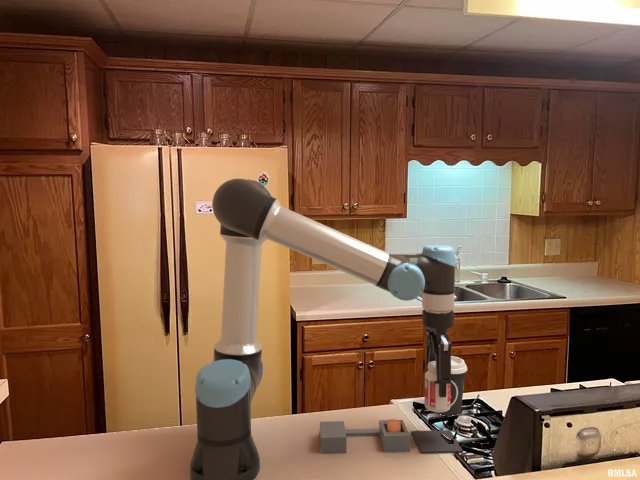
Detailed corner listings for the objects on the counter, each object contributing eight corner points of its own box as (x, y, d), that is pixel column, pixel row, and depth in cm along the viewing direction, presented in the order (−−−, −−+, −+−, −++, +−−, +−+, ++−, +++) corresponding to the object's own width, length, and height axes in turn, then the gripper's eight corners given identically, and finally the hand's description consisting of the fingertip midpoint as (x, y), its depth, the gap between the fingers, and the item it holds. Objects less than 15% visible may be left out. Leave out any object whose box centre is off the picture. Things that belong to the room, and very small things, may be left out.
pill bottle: (455, 409, 116) (456, 364, 115) (438, 415, 113) (438, 370, 112) (436, 400, 121) (437, 357, 120) (419, 406, 118) (419, 362, 117)
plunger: (388, 445, 116) (388, 425, 116) (386, 438, 119) (386, 419, 119) (401, 445, 116) (401, 425, 116) (398, 438, 119) (399, 419, 119)
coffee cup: (470, 420, 129) (472, 366, 128) (435, 420, 130) (436, 366, 128) (461, 405, 139) (462, 354, 137) (428, 404, 139) (428, 354, 138)
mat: (420, 453, 113) (420, 451, 113) (411, 432, 123) (411, 430, 123) (462, 452, 113) (462, 450, 113) (450, 431, 123) (450, 430, 123)
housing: (321, 453, 113) (321, 437, 113) (319, 433, 123) (319, 418, 123) (409, 451, 114) (409, 435, 113) (400, 431, 124) (401, 416, 123)
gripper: (467, 319, 106) (465, 420, 108) (442, 300, 125) (441, 386, 127) (433, 320, 105) (432, 421, 107) (413, 301, 124) (413, 387, 126)
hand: (437, 402), depth 117 cm, fingers closed on pill bottle, 6 cm apart
